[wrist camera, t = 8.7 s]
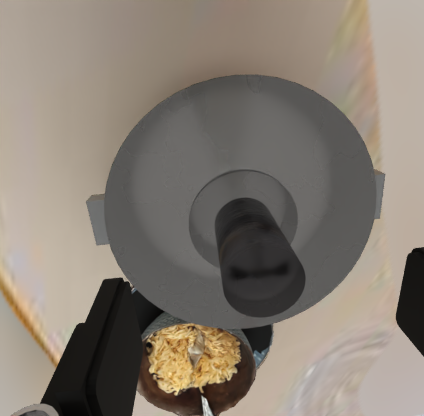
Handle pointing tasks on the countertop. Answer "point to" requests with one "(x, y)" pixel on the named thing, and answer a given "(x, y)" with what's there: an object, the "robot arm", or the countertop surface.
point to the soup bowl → (196, 361)
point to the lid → (240, 201)
